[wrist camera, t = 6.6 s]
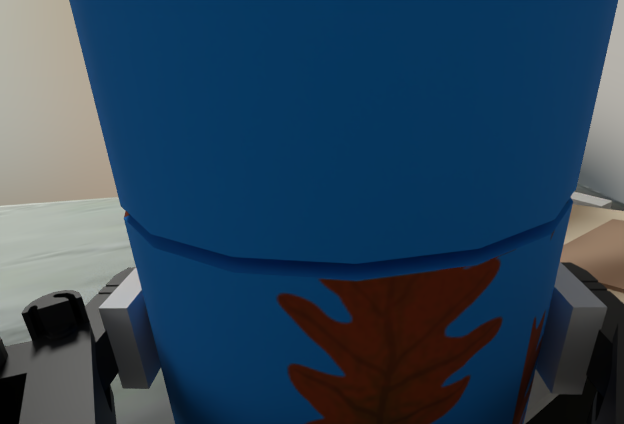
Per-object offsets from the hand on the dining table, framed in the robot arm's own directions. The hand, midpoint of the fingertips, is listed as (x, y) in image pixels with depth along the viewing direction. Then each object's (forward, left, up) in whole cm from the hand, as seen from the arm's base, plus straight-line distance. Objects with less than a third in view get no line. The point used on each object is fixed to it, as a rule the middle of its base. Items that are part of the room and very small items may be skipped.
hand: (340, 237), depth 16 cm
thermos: (+3, -2, -13) cm, 14 cm away
